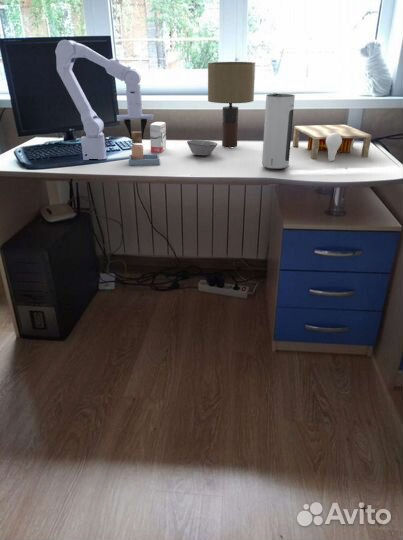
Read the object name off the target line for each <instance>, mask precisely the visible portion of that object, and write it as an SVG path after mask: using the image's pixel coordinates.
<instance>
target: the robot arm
mask: <svg viewBox="0 0 403 540" xmlns="http://www.w3.org/2000/svg"><path fill="white" fill-rule="evenodd" d="M54 52H55V56H56V57H55V58H56V72H57V73H58V75H59V78H60V79H61V80H62V82H63V85H64V87H65V88H66V90H67V92H68V94H69V95H70V97H71V100H72V101H73V103H74V105H75V108H76V109H77V111H78V112H79V114H80V119H81V122H82V125H83V131H84V132H85V136H81V137H80V145H81V151H82V152H81V153H82V158H83V159H82V160H83V161H90V160H89V159H98V160H107V159H108V156H107V157H106V154H107V151H106V142H105V141H106V140H105V134H104V133H103V130H104V129H105V127H104V126H105V124H104V121H103V120H102V119H101V118H100V117H99V116H98V115H97V113H96V112H95V111H94V110H93V109H92V108H93V107H92V106H91V104H90V102H89V101H88V99H87V96H86V95H85V93H84V91H83V89H82V87H81V85H80V83H79V81H78V80H77V77H76V76H75V73H74V72H73V66H74V64H75V62H76V60H77V59H78V58H82V59H83V58H85V59H86V60H89V61H90V62H93V63H95V64H97V65H99V66H101V67H102V68H104V69H105V72H106V73H107V74H109V75H110V76H112V77H114V78H115V79H117V80H119V81H121V82H124V84H125V88H126V90H125V95H126V104H127V105H126V107H127V114H117V115H116V121H117V122H120V121H123V123H124V125H125V127H126V129H127V131H128V134H129V138H130V140H132V134H131V133H132V132H133V131H132V121H140V126H141V127H140V128H141V129H140V131H141V134H142V140H144V133H145V128H146V126H147V124H148V121H154V120H155V119H154V114H149V113H148V114H147V113H145V114H144V113H143V106H142V105H143V104H142V90H141V84H140V83H141V79H142V78H141V74H140V72H138V70H136V69H135V68H132V66H130V65H128V66H127V65H126V64H124V63H122V62H120V61H121V60H120V59H118V58H110V59H109V58H106V57H105V56H103V55H101V54H100V53H99V52H96V51H94V49H91V48H90V47H88V46H87V45H85V44H82V43H79V42H77V41H75V40H72V39H69V40H67V39H61V40H60V41H59V42H58V43H57V46H56V48H55V51H54ZM86 154H87V156H85V155H86Z"/></svg>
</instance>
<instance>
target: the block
mask: <svg viewBox="0 0 403 540" xmlns="http://www.w3.org/2000/svg"><path fill="white" fill-rule="evenodd" d="M131 134H132V139H131V143H132V144H142V143H143V139H142V134H141V130H140V131H136V130H135V131H134V130H133V131H132V133H131Z"/></svg>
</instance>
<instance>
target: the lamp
mask: <svg viewBox="0 0 403 540" xmlns="http://www.w3.org/2000/svg"><path fill="white" fill-rule="evenodd" d="M255 74H256V62H254V61H213V62H210V61H209V62H207V101H208V102H209V103H213V104H228V106H227V105H226V106H223V107H222V123H221V124H222V125H221V126H222V129H221V130H222V131H221V132H222V133H221V145H222V146H221V147H223V146H224V147H223V148H227V147H233V148H236V147H238V131H239V128H238V127H239V106H234V105H233V104H247V103H252V102H254V99H255V98H254V97H255V77H256V75H255Z"/></svg>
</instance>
